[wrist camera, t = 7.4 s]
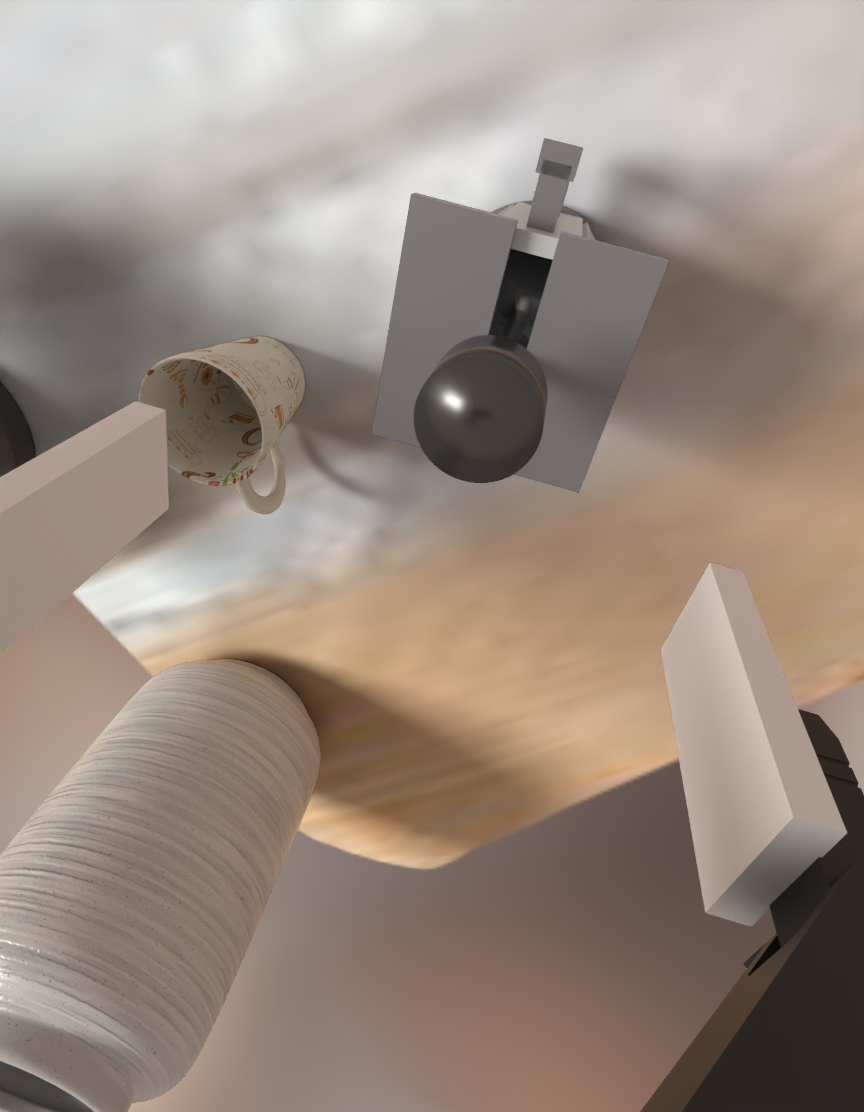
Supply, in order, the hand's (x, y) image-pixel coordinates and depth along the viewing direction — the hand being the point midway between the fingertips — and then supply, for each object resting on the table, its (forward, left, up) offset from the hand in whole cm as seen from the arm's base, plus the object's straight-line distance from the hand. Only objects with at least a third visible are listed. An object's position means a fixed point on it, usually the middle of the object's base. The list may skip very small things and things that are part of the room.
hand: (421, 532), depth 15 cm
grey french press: (0, +1, -30) cm, 31 cm away
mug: (-16, -12, -31) cm, 37 cm away
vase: (-17, -47, -31) cm, 59 cm away
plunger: (0, 0, -24) cm, 24 cm away
